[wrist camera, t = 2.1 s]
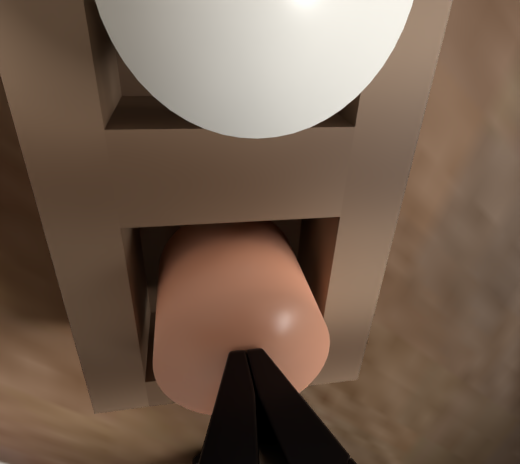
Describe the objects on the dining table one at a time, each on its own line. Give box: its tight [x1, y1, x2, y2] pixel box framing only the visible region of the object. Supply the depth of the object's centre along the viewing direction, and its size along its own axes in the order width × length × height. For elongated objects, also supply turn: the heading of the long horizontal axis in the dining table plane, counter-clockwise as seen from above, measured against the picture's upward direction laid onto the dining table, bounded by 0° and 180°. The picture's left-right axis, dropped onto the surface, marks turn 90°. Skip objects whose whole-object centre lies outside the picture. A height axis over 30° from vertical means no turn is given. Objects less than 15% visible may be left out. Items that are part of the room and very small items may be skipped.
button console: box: [0, 0, 453, 413], centre depth 11 cm, size 16×9×4 cm, turn 178°
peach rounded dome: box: [153, 221, 330, 415], centre depth 11 cm, size 4×4×4 cm
